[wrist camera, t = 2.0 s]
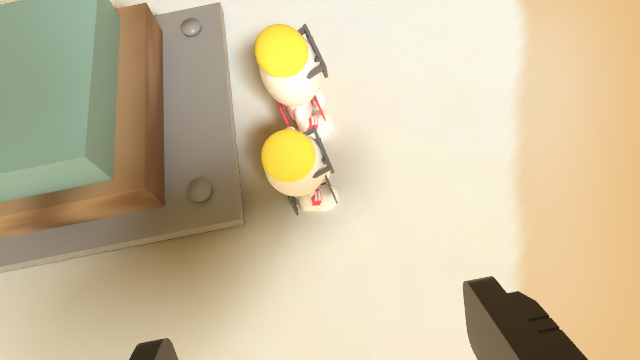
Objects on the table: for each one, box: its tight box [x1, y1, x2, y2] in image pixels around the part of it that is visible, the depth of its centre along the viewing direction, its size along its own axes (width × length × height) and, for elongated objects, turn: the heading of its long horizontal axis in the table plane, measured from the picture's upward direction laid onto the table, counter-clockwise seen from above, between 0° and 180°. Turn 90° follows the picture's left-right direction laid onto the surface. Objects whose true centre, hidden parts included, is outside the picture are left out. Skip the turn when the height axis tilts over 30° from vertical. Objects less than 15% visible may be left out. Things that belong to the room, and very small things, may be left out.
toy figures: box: [254, 24, 338, 215], centre depth 28 cm, size 12×4×8 cm, turn 4°
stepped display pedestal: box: [0, 0, 244, 273], centre depth 30 cm, size 22×20×7 cm
